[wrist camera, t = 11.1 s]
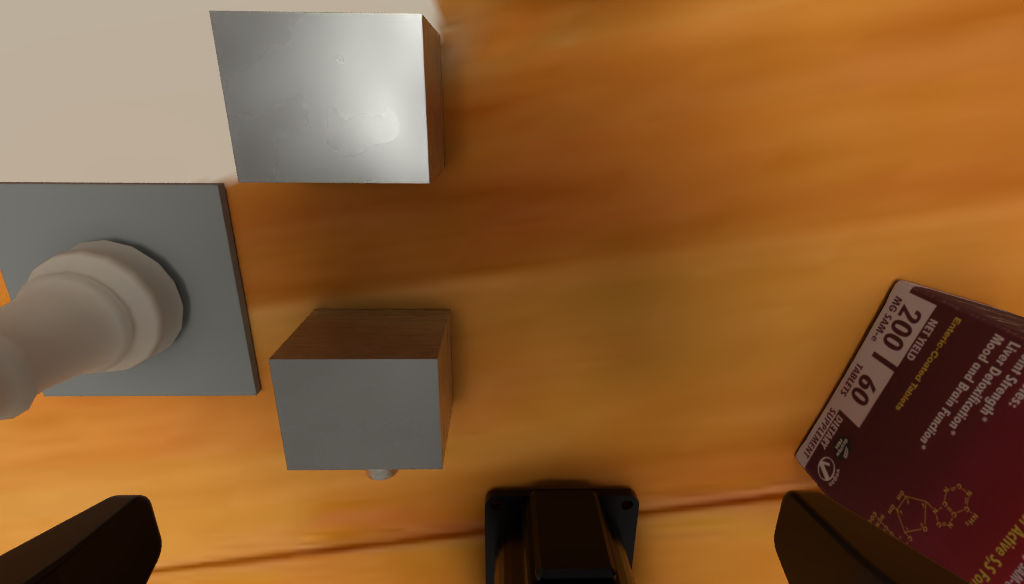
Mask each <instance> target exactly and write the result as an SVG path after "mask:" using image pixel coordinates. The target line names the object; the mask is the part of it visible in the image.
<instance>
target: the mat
mask: <svg viewBox="0 0 1024 584" xmlns="http://www.w3.org/2000/svg"><path fill="white" fill-rule="evenodd" d="M100 240H107V241H111V242H115V243H119V244H123V245H128V246H132V247H134V248H135V249H137V250H138V251H140V252H142V253H143V254H145V255H146V256H148V257H150V258H151V259H153V260H154V261H156V262H158V263H159V264H160V265H161V266H162V267H163V268H164V270H165V271H166V272H167V273H168V274H169V276H170V277H171V278H172V279H173V280H174V282H175V284H176V287H177V290H178V292H179V295H180V298H181V301H182V304H183V316H182V329H181V330H180V332H179V334H178V335H177V337H176V338H175V340H174V342H173V343H172V345H171V346H170V347H168V348H167V349H165V350H163V351H162V352H160V353H158V354H157V355H155V356H153V357H151V358H149V359H148V360H146V361H144V362H142V363H141V364H139V365H137V366H136V367H133V368H130V369H126V370H120V371H111V372H103V373H92V374H80V375H78V376H75V377H73V378H71V379H69V380H66V381H64V382H62V383H60V384H57V385H55V386H53V387H51V388H48V389H46V390H44V391H43V394H44V396H219V395H257V394H258V393H259V392H260V390H261V388H260V382H259V377H258V371H257V365H256V360H255V354H254V349H253V343H252V338H251V332H250V327H249V321H248V315H247V310H246V304H245V299H244V293H243V288H242V282H241V277H240V271H239V266H238V260H237V254H236V249H235V243H234V238H233V232H232V227H231V221H230V216H229V210H228V204H227V199H226V193H225V188H224V183H52V182H51V183H49V182H46V183H44V182H0V270H1V272H2V275H3V278H4V281H5V284H6V287H7V290H8V293H9V296H10V298H11V301H12V300H14V299H15V298H16V296H17V294H18V292H19V290H20V288H21V286H22V285H24V284H25V283H27V281H28V279H29V277H30V275H31V273H32V271H33V270H34V269H35V268H36V267H38V266H39V265H40V264H42V263H43V262H45V261H46V260H48V259H49V258H51V257H53V256H54V255H56V254H57V253H59V252H64V251H68V250H70V249H71V248H73V247H74V246H76V245H77V244H79V243H84V242H92V241H100Z"/></svg>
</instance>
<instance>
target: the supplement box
mask: <svg viewBox="0 0 1024 584" xmlns="http://www.w3.org/2000/svg"><path fill="white" fill-rule="evenodd" d="M796 459H797V460H798V462H799V463H800V464H801V465H802V466H803V468H804V469H805V470H806V472H807V473H808V474H809V475H810V476H811V477H812V478H813V480H814V481H815V482H816V483H817V485H818V486H819V487H820V488H821V490H822V491H823V492H824V493H825V495H826V496H827V497H829V498H831V499H832V500H834V501H835V502H837V503H839V504H840V505H842V506H844V507H845V508H847V509H849V510H850V511H852V512H854V513H855V514H857V515H859V516H860V517H862V518H864V519H865V520H867V521H869V522H870V523H872V524H873V525H875V526H877V527H878V528H880V529H882V530H883V531H885V532H887V533H888V534H890V535H892V536H893V537H895V538H897V539H898V540H900V541H902V542H903V543H905V544H907V545H908V546H910V547H911V548H913V549H915V550H916V551H918V552H920V553H921V554H923V555H925V556H926V557H928V558H930V559H931V560H933V561H935V562H936V563H938V564H940V565H941V566H943V567H945V568H946V569H948V570H950V571H951V572H953V573H954V574H956V575H958V576H959V577H961V578H963V579H964V580H966V581H968V582H969V583H971V584H1024V317H1020V316H1018V315H1015V314H1012V313H1010V312H1007V311H1005V310H1002V309H998V308H995V307H992V306H989V305H985V304H982V303H979V302H975V301H972V300H969V299H965V298H962V297H958V296H955V295H952V294H948V293H945V292H941V291H938V290H935V289H931V288H928V287H925V286H921V285H918V284H915V283H911V282H908V281H904V280H902V281H898V282H897V283H896V284H895V286H894V287H893V289H892V291H891V293H890V295H889V297H888V300H887V302H886V304H885V306H884V307H883V309H882V311H881V313H880V315H879V316H878V318H877V320H876V321H875V323H874V325H873V327H872V328H871V330H870V332H869V334H868V335H867V337H866V339H865V341H864V343H863V344H862V346H861V348H860V350H859V351H858V353H857V355H856V357H855V358H854V360H853V362H852V364H851V365H850V367H849V369H848V370H847V372H846V374H845V376H844V377H843V379H842V381H841V382H840V384H839V386H838V388H837V389H836V391H835V393H834V394H833V396H832V398H831V399H830V401H829V403H828V404H827V406H826V408H825V409H824V411H823V413H822V414H821V416H820V418H819V419H818V421H817V422H816V424H815V426H814V427H813V429H812V430H811V432H810V434H809V435H808V437H807V439H806V440H805V442H804V443H803V444H802V445H801V447H800V449H799V450H798V452H797V453H796Z"/></svg>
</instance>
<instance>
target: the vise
mask: <svg viewBox="0 0 1024 584" xmlns="http://www.w3.org/2000/svg"><path fill="white" fill-rule="evenodd" d="M209 12H210V17H211V24H212V29H213V35H214V41H215V47H216V53H217V59H218V65H219V71H220V76H221V82H222V88H223V94H224V100H225V105H226V112H227V117H228V123H229V129H230V135H231V141H232V147H233V153H234V159H235V164H236V170H237V176H238V182H280V183H430V182H431V181H432V180H433V179H434V178H435V177H436V176H437V175H438V174H439V172H440V171H441V170H442V169H443V168H444V167H445V159H444V131H443V102H442V74H441V45H440V35H439V34H438V32H437V31H436V30H435V29H434V28H433V27H432V25H431V24H430V23H429V22H428V21H427V19H426V18H425V17H424V16H423V15H422V14H410V13H408V14H407V13H406V14H405V13H335V12H332V13H331V12H258V11H209ZM269 364H270V370H271V376H272V382H273V388H274V394H275V399H276V405H277V411H278V417H279V423H280V429H281V435H282V440H283V446H284V452H285V458H286V464H287V470H366V475H367V476H368V477H369V478H370V479H373V480H384V479H388V478H390V477H392V476H394V475H395V474H396V473H397V471H398V469H442V468H443V462H444V456H445V449H446V443H447V437H448V431H449V425H450V418H451V412H452V406H453V387H452V358H451V330H450V309H315V310H314V311H313V312H312V313H311V314H310V315H309V316H308V317H307V318H306V319H305V320H304V322H303V323H302V324H301V325H300V326H299V327H298V328H297V329H296V330H295V331H294V332H293V334H292V335H291V336H290V337H289V338H288V339H287V340H286V341H285V342H284V343H283V344H282V345H281V347H280V348H279V349H278V350H277V351H276V352H275V353H274V354H273V355H272V356H271V357H270V359H269Z"/></svg>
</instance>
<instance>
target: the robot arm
mask: <svg viewBox="0 0 1024 584" xmlns="http://www.w3.org/2000/svg"><path fill="white" fill-rule="evenodd" d="M626 500H630V501H629V502H627V503H622V502H624V501H626ZM495 501H499V502H501V503H500V504H494V503H493V502H495ZM638 509H639V502H638V499H637V496H636V494H635V492H634V491H632V490H630V489H530V490H493V491H491V492H489V493H488V494H487V495H486V498H485V547H486V584H635V582H634V578H633V575H632V571H631V569H632V560H633V552H634V543H635V534H636V526H637V517H638ZM774 543H775V548H776V552H777V555H778V557H779V560H780V562H781V565H782V567H783V570H784V572H785V575H786V577H787V580H788V582H789V584H971V583H969V582H968V581H966V580H964V579H963V578H961V577H959V576H958V575H956V574H954V573H953V572H951V571H950V570H948V569H946V568H945V567H943V566H941V565H940V564H938V563H936V562H935V561H933V560H931V559H930V558H928V557H926V556H925V555H923V554H921V553H920V552H918V551H916V550H915V549H913V548H911V547H910V546H908V545H907V544H905V543H903V542H902V541H900V540H898V539H897V538H895V537H893V536H892V535H890V534H888V533H887V532H885V531H883V530H882V529H880V528H878V527H877V526H875V525H873V524H872V523H870V522H869V521H867V520H865V519H864V518H862V517H860V516H859V515H857V514H855V513H854V512H852V511H850V510H849V509H847V508H845V507H844V506H842V505H840V504H839V503H837V502H835V501H834V500H832V499H831V498H829V497H827V496H826V495H824V494H822V493H820V492H818V491H814V490H791V491H788V492H787V493H786V494H785V495H784V496H783V499H782V503H781V508H780V512H779V516H778V520H777V525H776V529H775V534H774ZM161 547H162V540H161V536H160V532H159V529H158V525H157V522H156V518H155V515H154V511H153V508H152V504H151V502H150V500H149V499H148V498H147V497H146V496H142V495H117V496H112V497H110V498H107V499H105V500H104V501H102V502H100V503H98V504H96V505H94V506H92V507H91V508H89V509H87V510H85V511H83V512H81V513H79V514H77V515H76V516H74V517H72V518H70V519H68V520H66V521H64V522H62V523H61V524H59V525H57V526H55V527H53V528H51V529H49V530H47V531H46V532H44V533H42V534H40V535H38V536H36V537H34V538H33V539H31V540H29V541H27V542H25V543H23V544H21V545H19V546H18V547H16V548H14V549H12V550H10V551H8V552H6V553H4V554H3V555H1V556H0V584H146V583H147V581H148V579H149V577H150V575H151V573H152V571H153V569H154V567H155V565H156V563H157V561H158V559H159V556H160V552H161Z"/></svg>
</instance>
